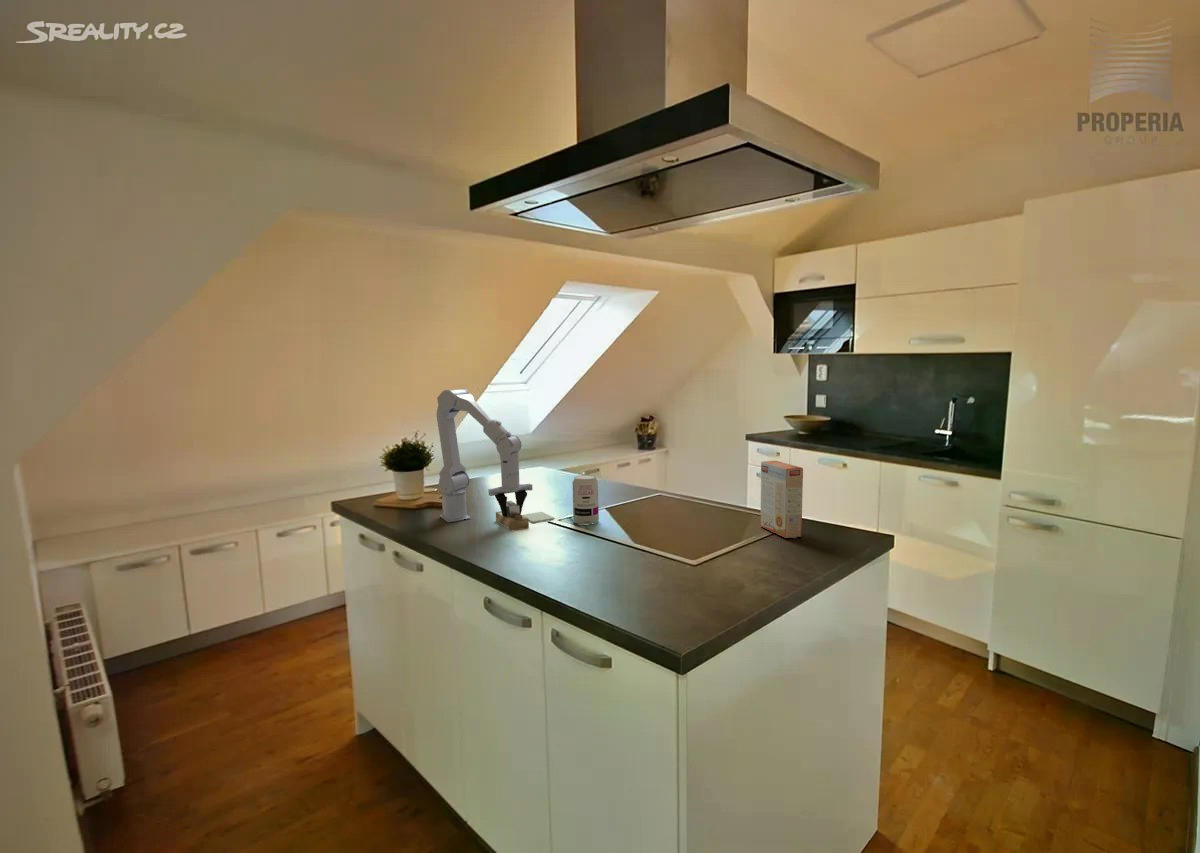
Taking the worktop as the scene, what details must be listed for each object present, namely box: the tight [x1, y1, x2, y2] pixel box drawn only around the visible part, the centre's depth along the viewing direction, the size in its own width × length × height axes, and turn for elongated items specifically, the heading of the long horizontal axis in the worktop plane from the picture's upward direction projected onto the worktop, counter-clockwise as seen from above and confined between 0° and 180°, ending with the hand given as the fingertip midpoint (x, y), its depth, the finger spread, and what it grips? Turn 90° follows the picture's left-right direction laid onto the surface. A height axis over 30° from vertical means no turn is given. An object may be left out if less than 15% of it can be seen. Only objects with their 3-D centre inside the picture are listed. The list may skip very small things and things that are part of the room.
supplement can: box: [572, 474, 600, 525], centre depth 188 cm, size 8×8×15 cm
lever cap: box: [506, 500, 520, 518], centre depth 188 cm, size 5×4×4 cm
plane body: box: [495, 510, 530, 531], centre depth 188 cm, size 14×6×4 cm, turn 31°
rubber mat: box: [522, 511, 555, 524], centre depth 195 cm, size 10×8×1 cm
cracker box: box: [759, 460, 804, 538], centre depth 172 cm, size 14×6×21 cm, turn 14°
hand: (511, 514), depth 188 cm, fingers open, 4 cm apart
